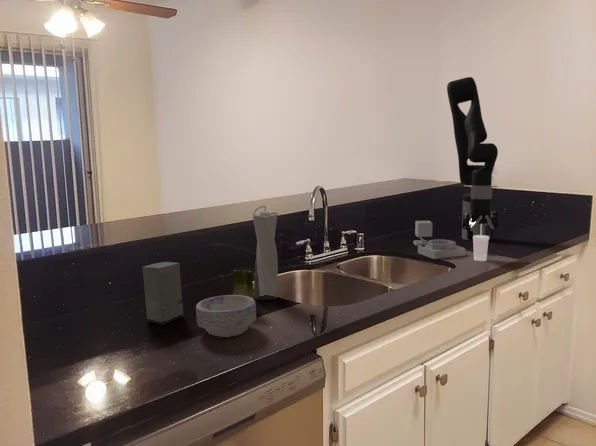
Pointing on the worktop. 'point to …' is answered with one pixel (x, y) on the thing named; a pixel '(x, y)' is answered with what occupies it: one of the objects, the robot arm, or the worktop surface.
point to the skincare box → (162, 291)
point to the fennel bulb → (243, 283)
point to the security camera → (422, 231)
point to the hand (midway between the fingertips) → (479, 239)
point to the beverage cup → (480, 246)
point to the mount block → (441, 249)
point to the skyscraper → (265, 254)
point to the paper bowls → (226, 314)
